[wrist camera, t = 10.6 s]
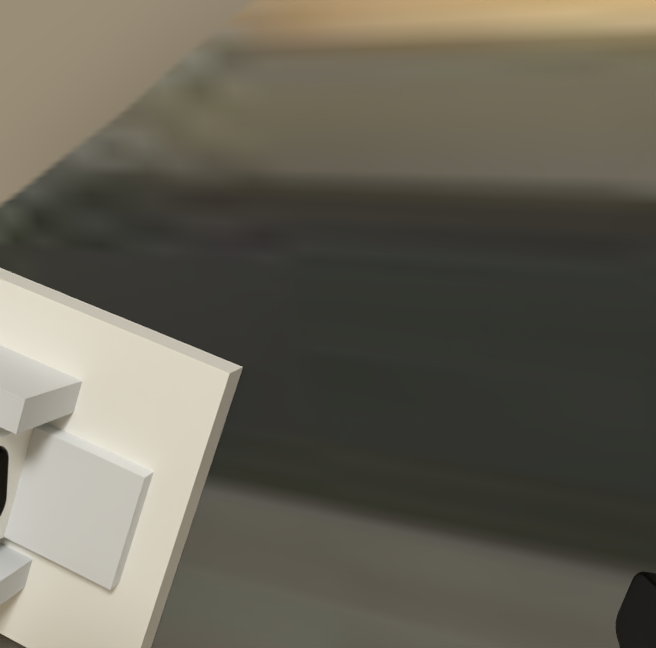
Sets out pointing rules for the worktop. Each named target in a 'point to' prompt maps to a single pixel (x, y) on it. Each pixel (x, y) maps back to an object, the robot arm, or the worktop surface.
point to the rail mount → (99, 466)
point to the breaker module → (13, 467)
